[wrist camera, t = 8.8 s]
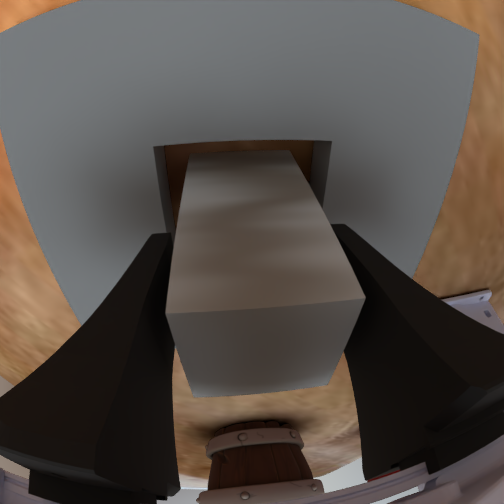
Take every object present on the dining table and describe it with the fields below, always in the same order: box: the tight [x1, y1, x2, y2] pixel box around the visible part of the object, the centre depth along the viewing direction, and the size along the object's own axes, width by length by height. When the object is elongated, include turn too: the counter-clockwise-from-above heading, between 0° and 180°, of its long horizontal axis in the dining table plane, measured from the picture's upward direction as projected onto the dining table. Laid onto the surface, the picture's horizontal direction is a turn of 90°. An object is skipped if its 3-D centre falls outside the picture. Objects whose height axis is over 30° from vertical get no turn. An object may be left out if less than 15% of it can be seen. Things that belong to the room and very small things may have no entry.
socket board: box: [0, 0, 479, 348], centre depth 12 cm, size 18×17×2 cm
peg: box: [166, 150, 366, 397], centre depth 10 cm, size 4×4×8 cm
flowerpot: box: [196, 421, 324, 504], centre depth 27 cm, size 14×15×20 cm
